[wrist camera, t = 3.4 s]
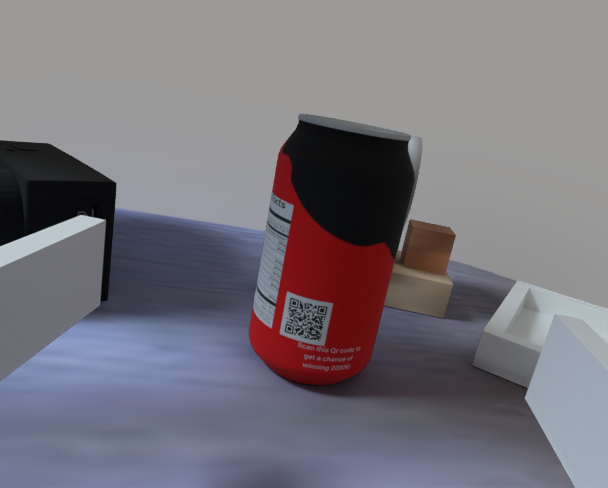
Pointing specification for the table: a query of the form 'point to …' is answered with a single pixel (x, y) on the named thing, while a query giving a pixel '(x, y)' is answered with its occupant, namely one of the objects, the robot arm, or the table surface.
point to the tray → (529, 330)
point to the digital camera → (51, 194)
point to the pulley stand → (421, 260)
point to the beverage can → (329, 248)
